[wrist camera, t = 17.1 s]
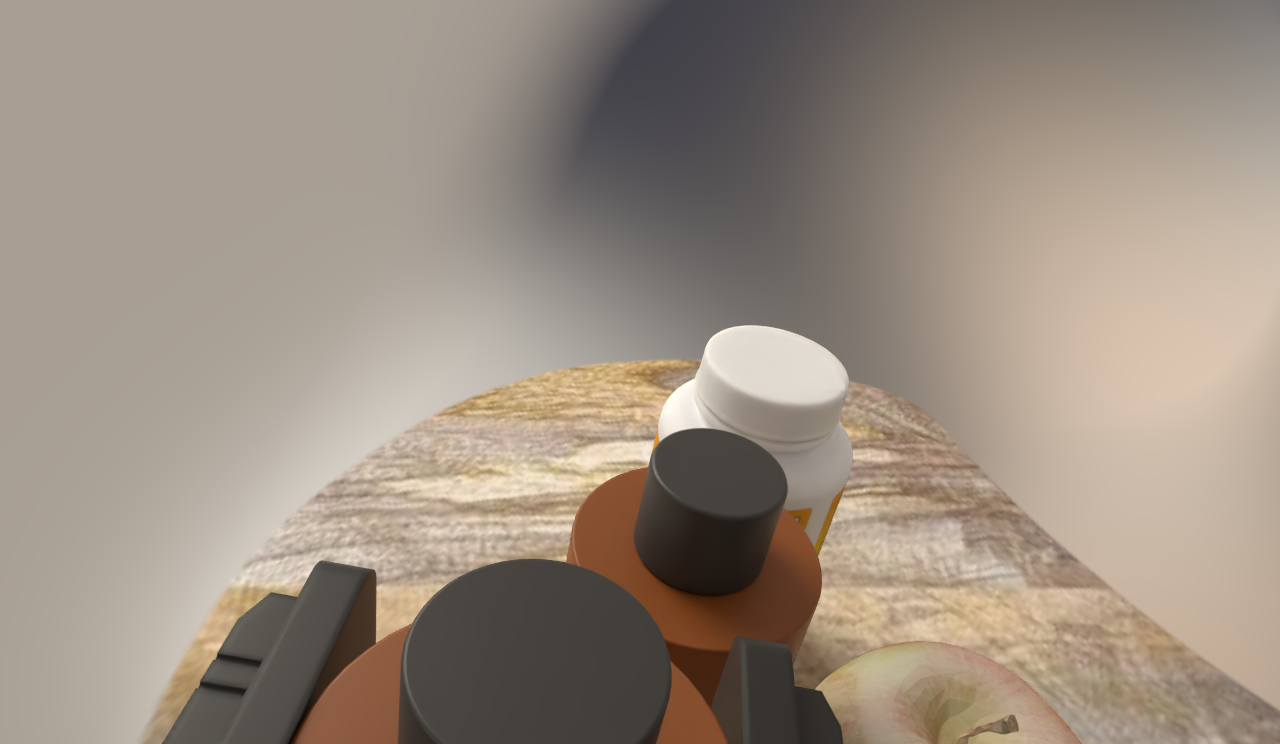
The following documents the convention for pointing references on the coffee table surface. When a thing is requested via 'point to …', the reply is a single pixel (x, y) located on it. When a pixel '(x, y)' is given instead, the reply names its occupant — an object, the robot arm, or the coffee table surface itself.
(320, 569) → the robot arm
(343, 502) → the coffee table surface
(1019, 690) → the fruit
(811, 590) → the amber bottle
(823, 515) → the supplement bottle
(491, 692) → the amber bottle
